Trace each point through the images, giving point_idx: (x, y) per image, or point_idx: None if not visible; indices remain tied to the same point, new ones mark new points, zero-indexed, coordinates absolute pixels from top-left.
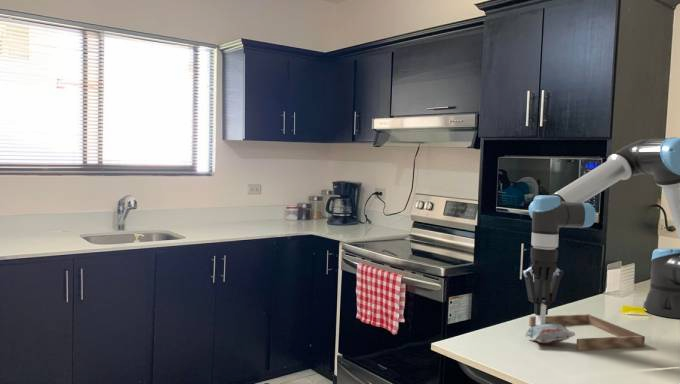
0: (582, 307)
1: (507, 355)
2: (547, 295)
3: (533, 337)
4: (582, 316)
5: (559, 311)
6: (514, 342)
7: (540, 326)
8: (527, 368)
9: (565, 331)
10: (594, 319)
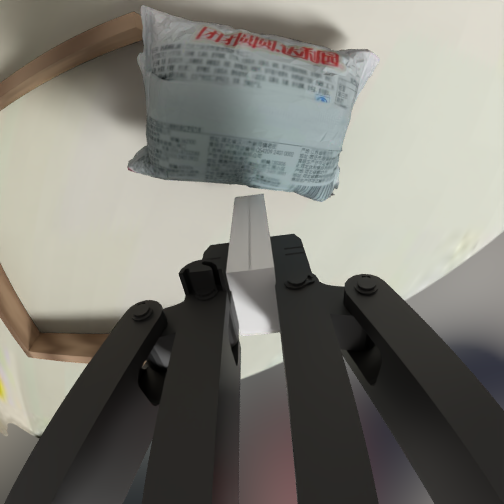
0: (54, 411)
1: (478, 24)
2: (202, 354)
3: (369, 72)
4: (41, 350)
5: None
6: (403, 140)
7: (319, 114)
8: None
9: (189, 22)
10: (14, 325)
